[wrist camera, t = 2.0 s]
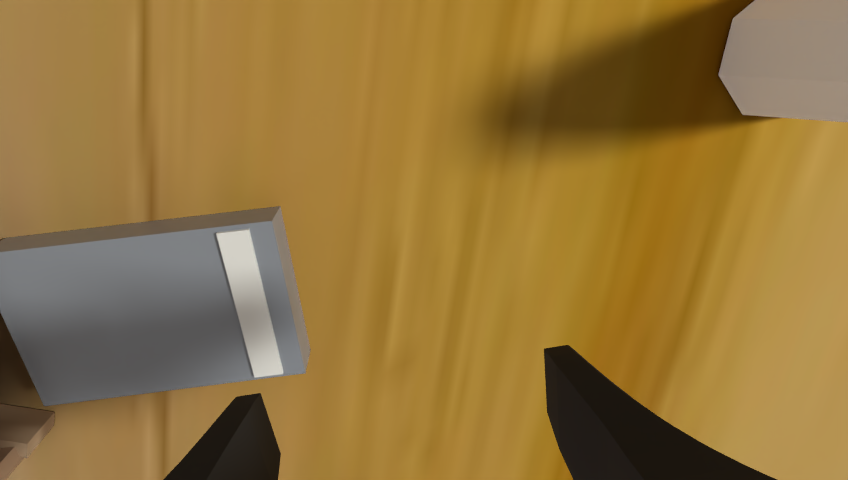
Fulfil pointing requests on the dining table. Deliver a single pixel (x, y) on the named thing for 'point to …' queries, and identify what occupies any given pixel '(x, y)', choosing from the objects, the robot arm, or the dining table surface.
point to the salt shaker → (789, 59)
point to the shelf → (20, 434)
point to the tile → (154, 305)
